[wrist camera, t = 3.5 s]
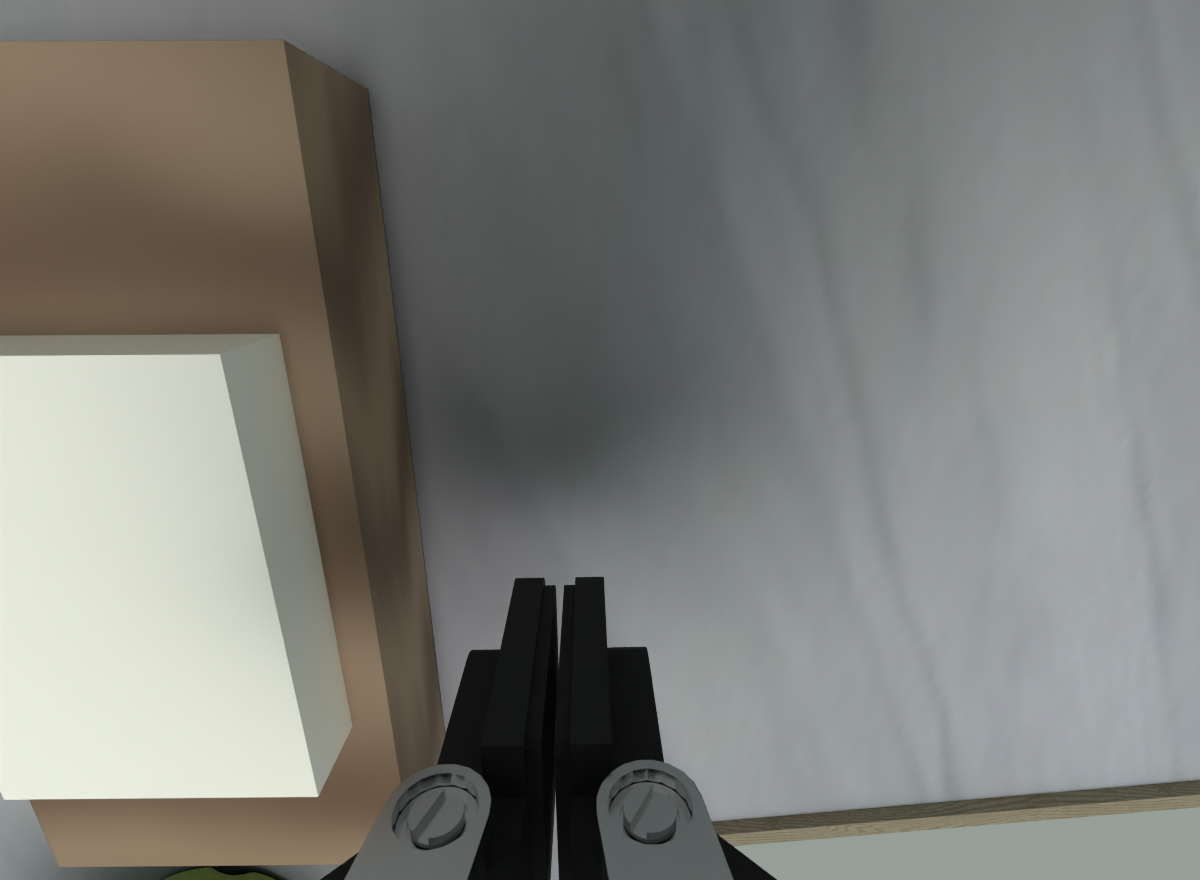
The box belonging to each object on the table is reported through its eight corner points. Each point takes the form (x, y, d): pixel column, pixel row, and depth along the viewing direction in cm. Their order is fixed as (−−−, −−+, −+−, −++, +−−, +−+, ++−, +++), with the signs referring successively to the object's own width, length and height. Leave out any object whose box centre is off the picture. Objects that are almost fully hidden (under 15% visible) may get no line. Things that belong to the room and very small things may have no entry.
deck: (-64, 91, 14) (-306, 43, 10) (367, 89, 14) (283, 40, 10) (156, 750, 21) (59, 867, 17) (446, 747, 21) (413, 863, 17)
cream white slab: (-75, 336, 12) (-201, 357, 10) (279, 333, 12) (220, 354, 10) (76, 728, 15) (4, 799, 13) (352, 726, 15) (318, 797, 13)
